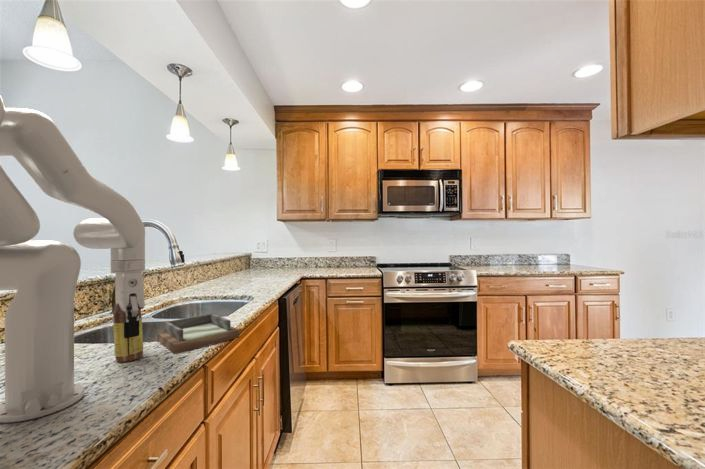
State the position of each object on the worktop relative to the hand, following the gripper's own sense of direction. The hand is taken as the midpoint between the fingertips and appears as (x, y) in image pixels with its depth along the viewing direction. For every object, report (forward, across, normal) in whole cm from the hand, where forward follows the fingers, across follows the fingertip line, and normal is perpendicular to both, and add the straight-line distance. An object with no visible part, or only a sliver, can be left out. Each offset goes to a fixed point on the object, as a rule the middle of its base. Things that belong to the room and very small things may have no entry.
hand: (128, 333), depth 85 cm
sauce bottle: (+7, 0, 0) cm, 7 cm away
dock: (+7, +3, -19) cm, 20 cm away
